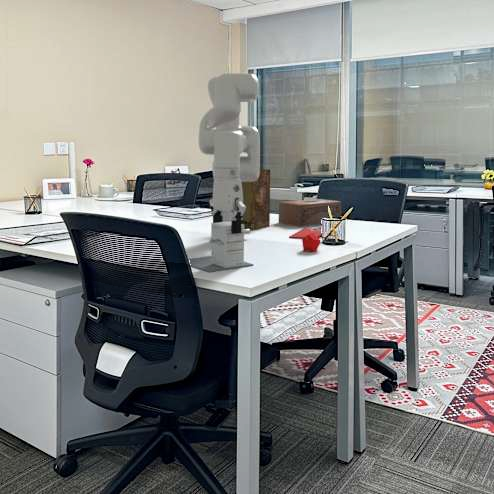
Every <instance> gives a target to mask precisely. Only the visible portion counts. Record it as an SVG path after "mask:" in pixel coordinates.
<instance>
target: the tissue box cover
mask: <svg viewBox="0 0 494 494" xmlns="http://www.w3.org/2000/svg"><path fill="white" fill-rule="evenodd" d="M328 206H329V208H330V210H331V214H332V216H333V217H335V218H337V217H341V218H342V201H341V200H340V201H339V200H332V199H325V198H315V199H300V200H289V201H288V200H286V201H278V224H282V225H288V226H293V227H299V228H301V227H309V226H318V225H319V226H320V225H322V224H321V218H322V217H328Z"/></svg>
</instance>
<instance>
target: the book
mask: <svg viewBox="0 0 494 494" xmlns="http://www.w3.org/2000/svg"><path fill="white" fill-rule="evenodd" d="M241 183H242V190H243V204H244V205H245V206H246V209H245V212H244V216H243V219H242V220H241V224H244V230H245V229H250V231H255V230H260V229H263V228H268V227H270V223H271V222H270V221H271V220H270V219H271V218H270V217H271V212H270V210H271V169H269V168H268V169H266V168H265V169H263V168H262V169H261V168H260V173H259V178H258V180H256V181H254V182H241Z"/></svg>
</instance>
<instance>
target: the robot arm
mask: <svg viewBox="0 0 494 494" xmlns="http://www.w3.org/2000/svg"><path fill="white" fill-rule="evenodd" d="M207 91H208V95H209V99H210V102H211V104H212V105H213V106H212V107H211V108H210V109H209V110H207V112H206V113H205V114H204V115H203V116H202V118H201V120H200V122H199V130H198V147H199V151H201V153H203V154H204V155H208V156H209V155H211V156H212V155H213V162H212V164H211V166H212V167H211V168H212V176H213V186H212V198H211V199H209V206H210V211H211V215H212V223H219V222H231V233H232V234H238V233H241V220H242V219H243V216H244V212H245V209H246V206H245V205H244V204H243V190H242V183H241V182H254V181H256V180H258V178H259V173H260V169H261V168H260V165H261V164H260V163H261V160H260V159H261V157H260V156H261V155H260V153H261V140H260V139H261V138H260V132H259V129H257V128H256V127H255V126H252V125H240V114H241V112H242V111H241V110H242V109H241V106H242V105H241V103H254V102H255V101H257V99H258V97H259V94H260V93H259V92H260V83H259V79H258V77H257V76H256V75H255V74H253V73H240V72H239V73H236V72H235V73H231V72H230V73H229V72H228V73H223V74H220V75H218V76H215V77H212V78H210V79H209V80H208V82H207ZM242 153H244V154H247V155H242ZM250 234H251V230H250V229H244V235H250Z"/></svg>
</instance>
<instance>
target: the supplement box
mask: <svg viewBox="0 0 494 494" xmlns="http://www.w3.org/2000/svg"><path fill="white" fill-rule="evenodd" d="M210 227H211V231H210V232H211V233H210V234H211V235H210V240H211V242H210V243H211V244H210V245H211V246H210V251H211V255H210V256H211V264H215V265H218V266H221V267H223V268H229V267H236V266H242V265H244V262H245V234H244V230H245V229H244V224H241V233H238V234H232V233H231V222H219V223H213V222H211V226H210Z"/></svg>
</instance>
